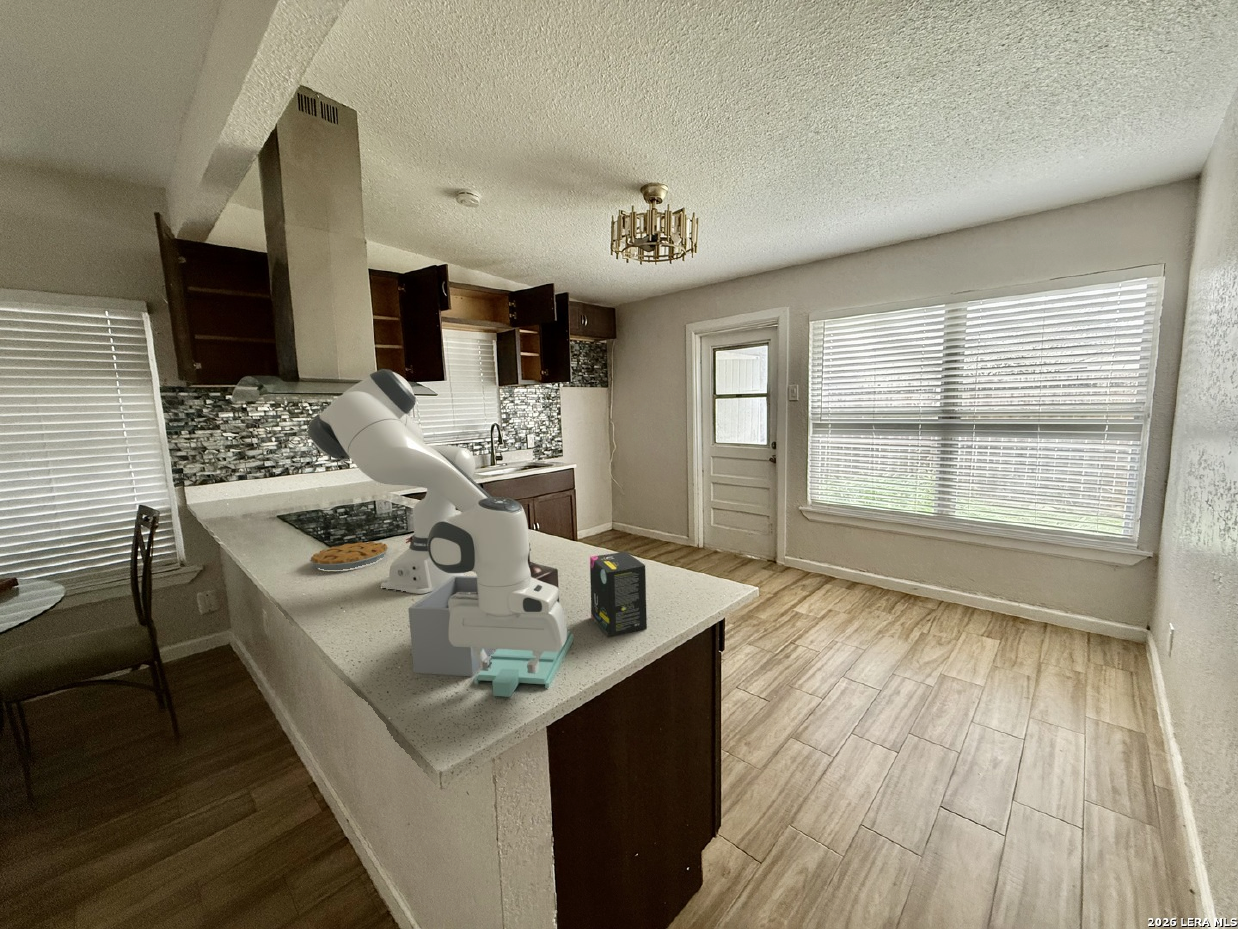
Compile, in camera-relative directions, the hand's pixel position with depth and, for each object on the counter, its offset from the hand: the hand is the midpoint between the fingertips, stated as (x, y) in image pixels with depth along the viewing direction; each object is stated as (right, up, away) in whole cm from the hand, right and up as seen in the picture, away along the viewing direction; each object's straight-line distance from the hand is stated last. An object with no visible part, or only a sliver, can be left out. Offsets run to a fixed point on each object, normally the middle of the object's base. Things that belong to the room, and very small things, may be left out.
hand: (509, 670), depth 79 cm
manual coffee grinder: (-4, 0, +31) cm, 31 cm away
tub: (-12, -2, +13) cm, 18 cm away
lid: (+1, -2, +7) cm, 8 cm away
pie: (-69, +3, +72) cm, 100 cm away
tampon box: (+19, 0, +23) cm, 30 cm away
